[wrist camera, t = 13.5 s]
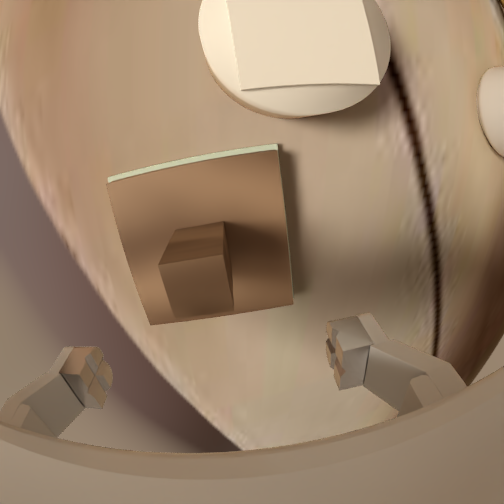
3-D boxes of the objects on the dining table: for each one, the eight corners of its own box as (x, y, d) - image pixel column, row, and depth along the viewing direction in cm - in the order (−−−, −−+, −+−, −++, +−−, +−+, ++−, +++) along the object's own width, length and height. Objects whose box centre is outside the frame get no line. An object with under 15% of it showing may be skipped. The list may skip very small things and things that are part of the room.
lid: (290, 295, 21) (311, 351, 15) (153, 315, 21) (135, 373, 15) (273, 149, 17) (297, 157, 11) (113, 180, 17) (66, 204, 11)
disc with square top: (366, 115, 17) (406, 113, 12) (216, 128, 17) (213, 126, 12) (341, -10, 13) (371, -39, 8) (196, -5, 13) (188, -42, 8)
